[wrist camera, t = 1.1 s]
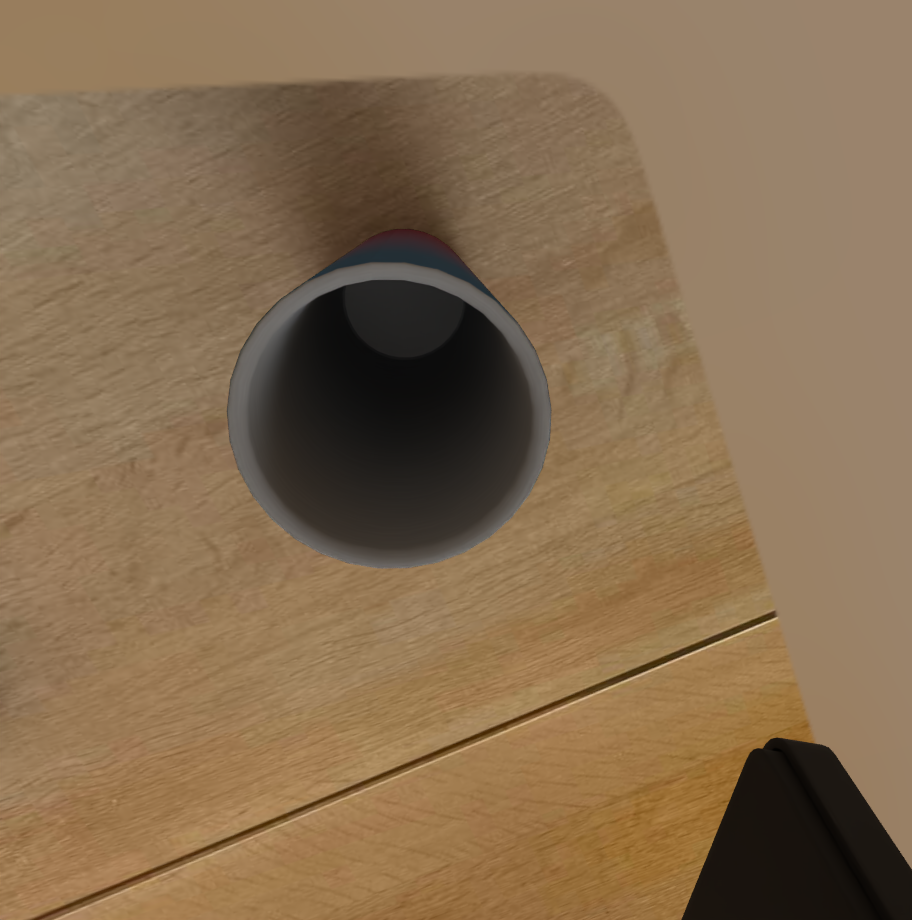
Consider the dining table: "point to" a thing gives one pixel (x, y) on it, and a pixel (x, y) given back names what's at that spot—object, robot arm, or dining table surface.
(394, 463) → the cup
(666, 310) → the dining table surface
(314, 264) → the dining table surface
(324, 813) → the dining table surface
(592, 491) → the dining table surface
